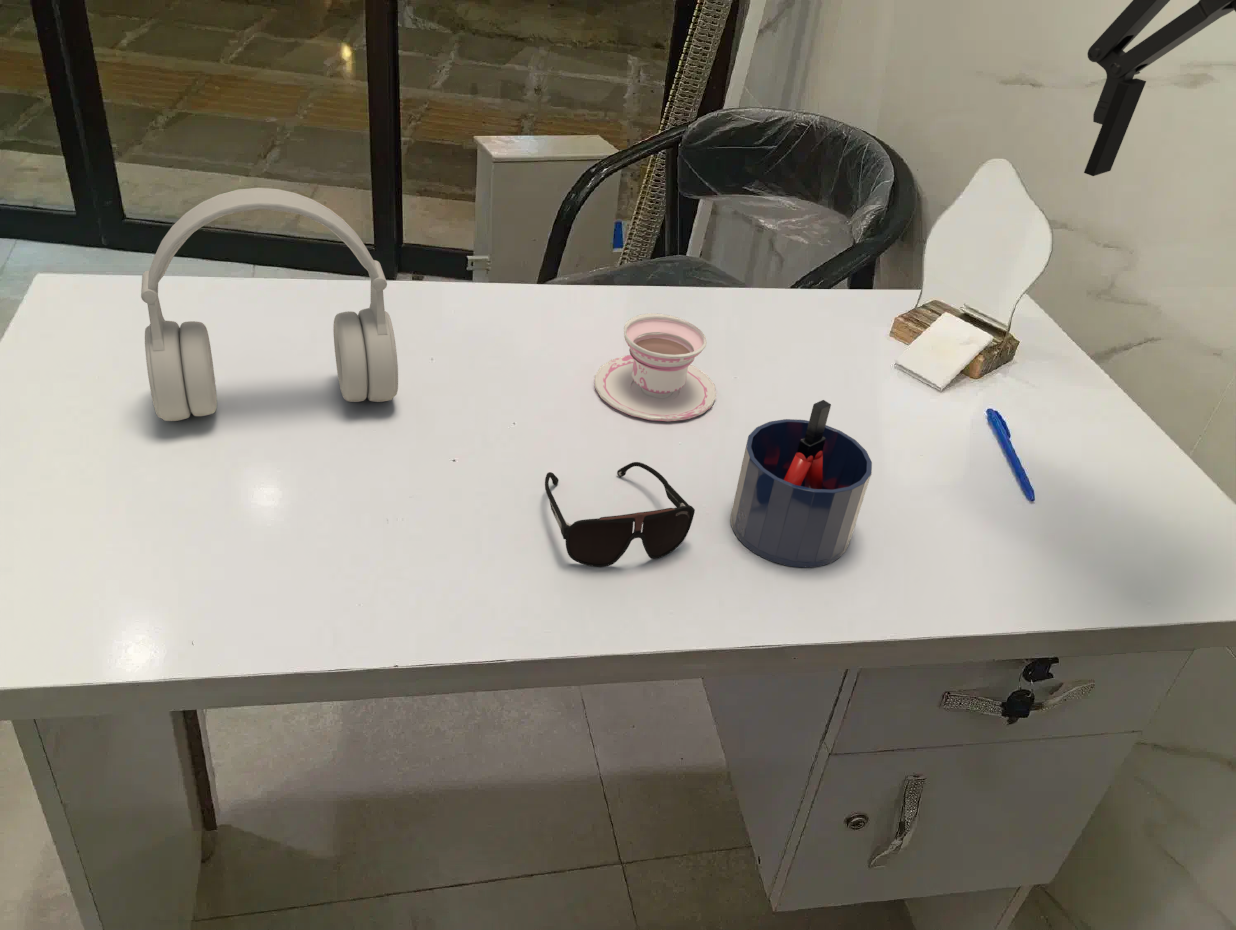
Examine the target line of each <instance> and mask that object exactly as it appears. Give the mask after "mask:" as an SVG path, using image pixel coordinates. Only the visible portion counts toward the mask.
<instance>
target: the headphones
mask: <svg viewBox="0 0 1236 930" xmlns="http://www.w3.org/2000/svg"><path fill="white" fill-rule="evenodd" d="M258 210H261V211H262V210H264V211H275V212H283V213H284V212H285V213H290V214H295V215H300V216H302V217H305V218H307V219H310V220H311V221H313V222H316V223H318V224H320V225H322V226H324V227H325V228H327V229H328V230H329V231H331V232H332V233H333V234H334V235H336V237H337V238H338V239H340V240H341V242H343V243H344V245H346V246H347V248H349V250H350V251H351V252H352V253H353V255H354V256H355V258H356V259H357V260H358V262H359V263H360V264H361V266H362V267H363V268H364V269H365V270H366V271H367V273H368V276H369V279H370V303H369V307H367V308H363V309H359V311H358V313H356V312H355V311H343V312H339V313H336V315H335V316H334V317H333V318H334V319H333V324H332V325H333V328H332V330H333V346H334V356H335V357H334V358H335V364H336V373H337V380H338V384H339V389H340V393H341V396H342V398H343V399H344V400H345V401H346V402H350V403H360V402H364V401H366V399H367V400H368V401H369V402H374V403H382V402H389V401H392V400H393V399H394V397H396V396H397V394H398V390H399V363H398V352H397V345H396V337H395V332H394V331H395V330H394V327H393V326H394V325H393V322H392V319H391V317H390V314H389V312H388V311H386V310H385V299H384V297H385V296H384V290H386V289H387V286H388V281H387V280H386V276H385V273H384V271H383V267H382V266H381V265H382V264H381V263H380V261H378V260H376V259H373V257H372V255H371V254H370V251H369V250H368V248H367V246H366V245H365V244H364V242H363V241H362V239H361V238H360V236H359V235H358V233H357V232H356V231H355V230H354V229H353V228H352V227H351V226H350V225H349V224H348V223H347V222H346V220H345V219H343V218H342V217H341V216H340V215H338V214H337V213H336V212H334V211H333V209H331V208H329V207H328V206H325V205H323V204H321V203H320V202H318V201H317V200H315V199H313V198H310V197H308V196H305V195H303V194H299V193H297V192H293V191H288V190H284V189H280V188H271V187H270V188H269V187H268V188H267V187H251V188H240V189H235V190H231V191H228V192H224V193H219V194H217V195H214V196H213V197H210V198H208V199H205V200H204V201H202V202H199V203H198V204H196V205H195V206H194V207H192V208H190V209H189V210H188V211H186V212H185V213H184V214H183V215H182V216H180V218H179V219H178V220H177V221H176V222H175V223H174V224H173V225H172V226H171V227H170V229H169V230H168V231H167V233H166V234H165V236H164V237H163V238H162V240H161V241H160V243H159V246H158V247H157V250H156V252H155V254H154V256H153V259H152V261H151V265H150V267H149V269H148V270H145V271H144V272H143V273H142V275H141V287H140V288H141V290H140V298H141V300H142V302H144V304H146V305H147V311H148V318H149V325H148V326H146V327H145V329H144V351H145V360H146V361H145V362H146V370H147V377H148V383H149V384H148V385H149V390H150V395H151V399H152V400H151V401H152V404H153V408H154V411H155V414H156V416H157V418H159V419H162V420H163V422H177V421H183V420H186V419H189V418H190V417H191V414H192V415H193V416H194V417H205V416H209V415H214V413H215V412H216V411H217V407H218V398H217V396H218V395H217V386H216V377H215V368H214V362H213V354H212V346H211V341H210V336H209V331H208V329H207V327H206V324H204V322H201V321H191V320H190V321H183V322H181V324H180V325H179V323H178V322H177V321H174V320H165V317H164V316H163V315H164V314H163V312H162V308H161V307H162V306H161V303H160V298H159V283H160V281H161V280H162V279H163V278H164V275H165V274H166V272H167V270H168V268H169V267H170V264H171V262H172V260H173V259H174V257H175V255H176V254H177V253H178V251H179V250H180V249H181V247H182V246H183V245H184V244H185V243H186V241H187V240H188V239H189V238H190V237H191V236H192V235H193V234H194V233H195V232H197V231H199V229H201V228H202V227H205V226H206V225H209V223H211V222H214V221H215V220H217V219H220V218H222V217H225V216H230V215H232V214H233V215H234V214H239V213H245V212H249V211H258Z"/></svg>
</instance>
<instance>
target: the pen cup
mask: <svg viewBox="0 0 1236 930" xmlns="http://www.w3.org/2000/svg"><path fill="white" fill-rule="evenodd" d="M808 424H809V420H806V419H791V418H784V419H778V420H771V421H767V422H765V423H763V424H761V425H758V426H757V427H755V428H754V430H752V431H751V432H750V434H748V436H747V440H746V444H745V449H744V454H743V458H742V462H741V467H740V472H739V476H738V481H737V485H736V489H735V495H734V498H733V503H732V508H731V512H730V526H731V528H732V531H733V533H734V534H735V536H736V538H737V539H738V540H739V541H740V542H741V544H743V545H744V546H745V547H746V548H747V549H748V550H749V551H751V552H753V553H754V554H755V555H757V556H759V557H761V558H763V559H765V560H767V561H770V562H772V563H775V564H779V565H783V566H787V567H792V568H817V567H821V566H825V565H829V564H831V563H834V562H835V561H837V560H838V559H840V558H841V557H842V556H843V555H844V554H845V553H846V551H847V549H848V547H849V544H850V542H851V540H852V537H853V533H854V530H855V527H856V523H857V521H858V518H859V514H860V512H861V508H862V505H863V502H864V499H865V495H866V493H867V489H868V486H869V482H870V480H871V476H872V473H873V471H872V469H873V462H872V460H871V459H872V458H871V457H870V455H869V453H868V451H867V450H866V449H865V447H863V446H862V445H861V443H860V442H858V441H857V440H856V439H854V438H853V437H851V436H850V435H848V434H846V433H845V432H843V431H841V430H840V429H837V428H835V427H832V426H829V425H827V424H826V425H825V429H824V433H823V437H824V438H826V440H825V443H824V447H823V470H822V489H812V488H807V487H805V478H804V480H803V482H802V484H801V486H798V485H794V484H792V483H790V482H787V481H785V480H784V478H785V476H786V474H787V472H788V469H789V467H790V465H791V463H792V461H793V459H794V457H795V454H796V453H797V451H798V447H799V443H800V440H801V439H804V438H805V435H806V431H807V428H808Z"/></svg>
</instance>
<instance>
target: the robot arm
mask: <svg viewBox="0 0 1236 930" xmlns="http://www.w3.org/2000/svg"><path fill="white" fill-rule="evenodd" d="M1170 1H1171V0H1132V1H1131V2H1130V3H1129V4H1128V5H1127V6H1126V7H1125V8H1124V10H1123V11H1122V12H1121V13H1120V14H1119V15H1118V16H1117V17H1116V19H1114V20H1113V22H1112V23H1110V25H1109V26H1108V27H1107V28H1106V29H1105V31H1103V33H1102V34H1101V35H1099V37H1098V38H1097V39H1096V41H1094V42H1093V43H1092V45H1091V46H1090V47H1089V48H1088V50H1087V58H1088V60H1089V61H1090V62H1092V63H1096V64H1098V66H1100V67H1101V68H1102V69H1103V70H1104V71H1105V74H1106V78H1105V83H1104V85H1103V87H1102V91H1101V93H1100V96H1099V98H1098V101H1097V104H1096V106H1095V109H1094V111H1093V114H1092V118H1093V119H1092V120H1093V123H1096V124H1099V125H1101V127H1100V129H1099V131H1098V134H1097V137H1096V140H1095V142H1094V145H1093V148H1092V150H1091V153H1090V156H1089V158H1088V160H1087V163H1086V166H1085V168H1084V171H1083V174H1086V175H1089V176H1092V177H1095V176H1098V175H1102V174H1105V173H1108V172H1111V171H1112V169H1113V165H1114V163H1115V161H1116V158H1117V156H1118V153H1119V151H1120V149H1121V148H1120V147H1121V146H1122V143H1123V140H1124V139H1125V136H1126V133H1127V130H1128V129H1129V125H1130V123H1131V121H1132V118H1133V115H1134V113H1135V111H1136V108H1137V106H1138V103H1139V100H1140V98H1141V95H1142V93H1143V90H1144V88H1145V86H1146V83H1147V80H1143V79H1140V78H1137V77H1136V78H1134V77H1135V76H1136V75H1139V74H1141V71H1142V70H1144V69H1146V68H1147V67H1148V66H1150V65H1151V64H1153V63H1155V62H1156V61H1158V60H1159V59H1160V58H1162V57H1164V56H1165V55H1167V54H1169V52H1171V51H1173V50H1174V49H1176V48H1177V47H1178V46H1180V45H1181V44H1183V43H1185V42H1186V41H1187V40H1189V39H1190V38H1193V36H1195V35H1196V34H1198V33H1200V32H1201V31H1203V30H1204V29H1205V28H1207V27H1208V26H1210V25H1211V24H1213V23H1214V22H1216V21H1218V20H1219V19H1220V18H1222V17H1224V16H1226V15H1228V14H1230V13H1232V12H1235V13H1236V0H1198V2H1197V3H1196V4H1194V5H1193V6H1191V7H1190V8H1188V9H1187V10H1185V11H1184V12H1183V13H1181V14H1179V15H1178V16H1176V17H1174V18H1173V19H1172V20H1171V21H1170V22H1168V23H1166V24H1165V25H1164V26H1162V27H1161V28H1159V29H1157V30H1156V31H1155V32H1153V33H1152V34H1150V35H1149V36H1147V37H1146V38H1145V39H1143V40H1141V41H1140V42H1139V43H1137V44H1136V45H1134V46H1132V47H1131V48H1130V49H1129V50H1127V51H1126V52H1125V51H1124V50H1125V49H1126V48H1127V47H1128V46H1129V45H1130V44H1131V43H1132V42H1133V41H1134V39H1135V38H1136V37H1138V35H1139V34H1140V33H1141V32H1142V31H1143V30H1144V29H1145V28H1146V27H1147V25H1149V24H1150V22H1151V21H1152V20H1153V19H1155V17H1156V16H1157V15H1158V14H1159V13H1160V12H1161V11H1162V10H1163V9H1164V8H1165V6H1167V4H1168V3H1169V2H1170Z"/></svg>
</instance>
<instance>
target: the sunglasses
mask: <svg viewBox="0 0 1236 930" xmlns="http://www.w3.org/2000/svg"><path fill="white" fill-rule="evenodd" d="M634 467H639V468H641V469H644V470H645V471H647V472H649V473H650V474H651V475H653V476H654V477H655V478H656V479H657V480H658V481H660V482H661V484H662V486H663V487H664V490H665V494H666V497H667V499H668V500H669V501H670V502H671V503H672V504H673V505H674V506H675V507H667V508H662V509H655V510H647V511H638V512H632V513H627V514H619V515H611V516H610V515H608V516H601V517H599V518H587V519H586V518H585V519H580V520H576V521H574V522H573V523H572V524H571V523H569V522H567V521H566V519H565V518H564V516H563V514H562V512H561V509H560V508H559V505H558V504H557V501H556V499H555V497H554V495H553V494H552V491H551V489H550V484H549V482H550V479H551V483H552V485H553V486H556V485H558V484H559V478H558V477H557V475H555V473H553V472H547V473H546V475H545V479H544V490H545V493H546V495H547V498H548V501H549V505H550V510H551V512H552V514H553V517H554V519H555V521H556V523H557V525H558V527H559V530H560V533H561V536H562V539H563V540H565V548H566V552H567V555H568V557H569V558H570V559H571V560H573V561H574V562H576V563H579V564H581V565H583V566H588V567H593V568H605V567H609V566H612V565H614V564H616V562H618V561H619V559H621V557H623V555H624V554H625V553H626V551H627V550H628V548H629V547H630V545H631V542H633V540H635V539H640V540H641V543H642V546H643V548H644V550H645V552H646V554H647V557H648V558H650V559H652V560H658V559H660V558H663V557H666V556H667V555H669V554H670V553H672V552H674V551H675V550H676V549H677V548H678V547H679V546H680V545H682V543H683V542H684V540H686V537H687V535H688V533H689V532H690V529H691V526H692V523H693V520H694V515H695V511H696V509H695V508H694V507H693V506H692V505H690V504H689V503H688V502H687V501H686V500H685V499H684V498H683V497H682V495H680V494H679V493H678V492H677V490H675V489H674V488H673V486H672V485H670V483H669V482H668V480H667V479H666V478H665V477H664V475H662V474H661V473H660V472H658V471H657V470H656V469H654V468H653V467H651V466H650V465H648V464H645V463H643V462H641V461H632V462H630V463H628V464H626V465H624V466H622V467H621V468H619V469H618V470H617V472H616V475H617V477H619V478H622V477H625V475H626V473H627V471H629V470H630V469H631V468H634Z"/></svg>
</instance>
